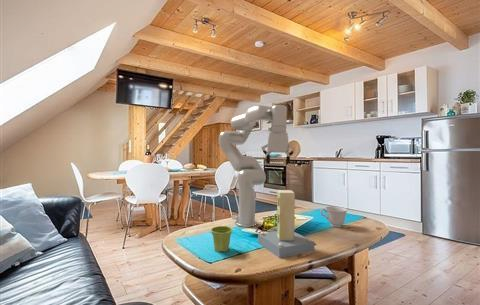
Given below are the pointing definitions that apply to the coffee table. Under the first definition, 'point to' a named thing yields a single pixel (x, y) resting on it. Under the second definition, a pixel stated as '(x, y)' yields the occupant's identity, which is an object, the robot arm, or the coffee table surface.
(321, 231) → the coffee table surface
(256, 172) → the robot arm
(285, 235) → the cream tall block
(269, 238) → the base block
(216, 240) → the plant pot
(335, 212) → the teacup
